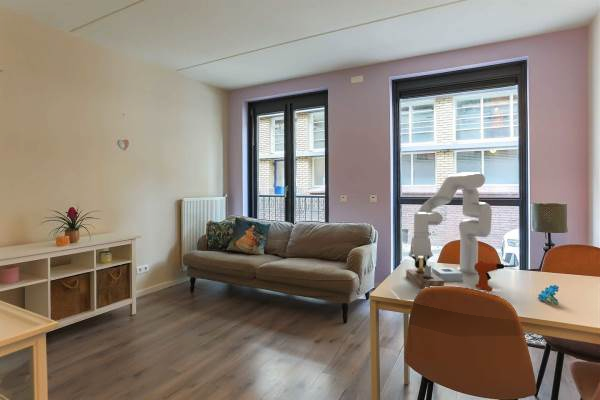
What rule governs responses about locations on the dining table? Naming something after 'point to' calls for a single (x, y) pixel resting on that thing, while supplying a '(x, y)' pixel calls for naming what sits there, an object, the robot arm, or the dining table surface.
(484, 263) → the toy drill
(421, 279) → the bit rack
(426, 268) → the steel drill bit
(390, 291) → the dining table surface
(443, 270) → the socket block
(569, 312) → the dining table surface
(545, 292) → the blue flower bunch
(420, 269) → the gold drill bit
